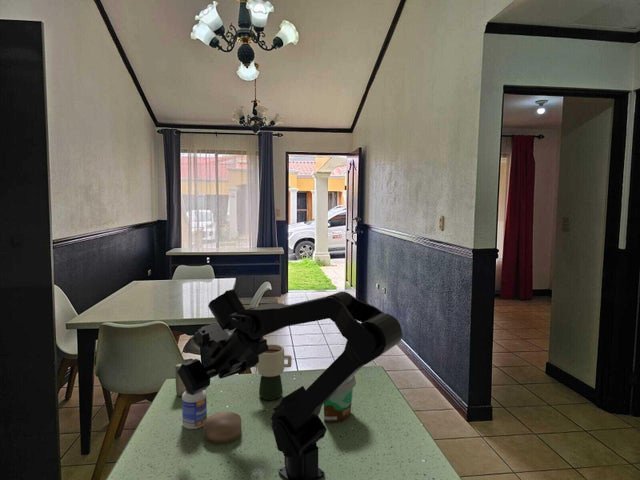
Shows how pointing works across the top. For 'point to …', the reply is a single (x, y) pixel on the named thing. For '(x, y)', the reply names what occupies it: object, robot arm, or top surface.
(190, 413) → the pill bottle
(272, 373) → the character mug
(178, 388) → the beige rounded block
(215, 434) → the brown round smooth part
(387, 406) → the top surface
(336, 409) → the food container
